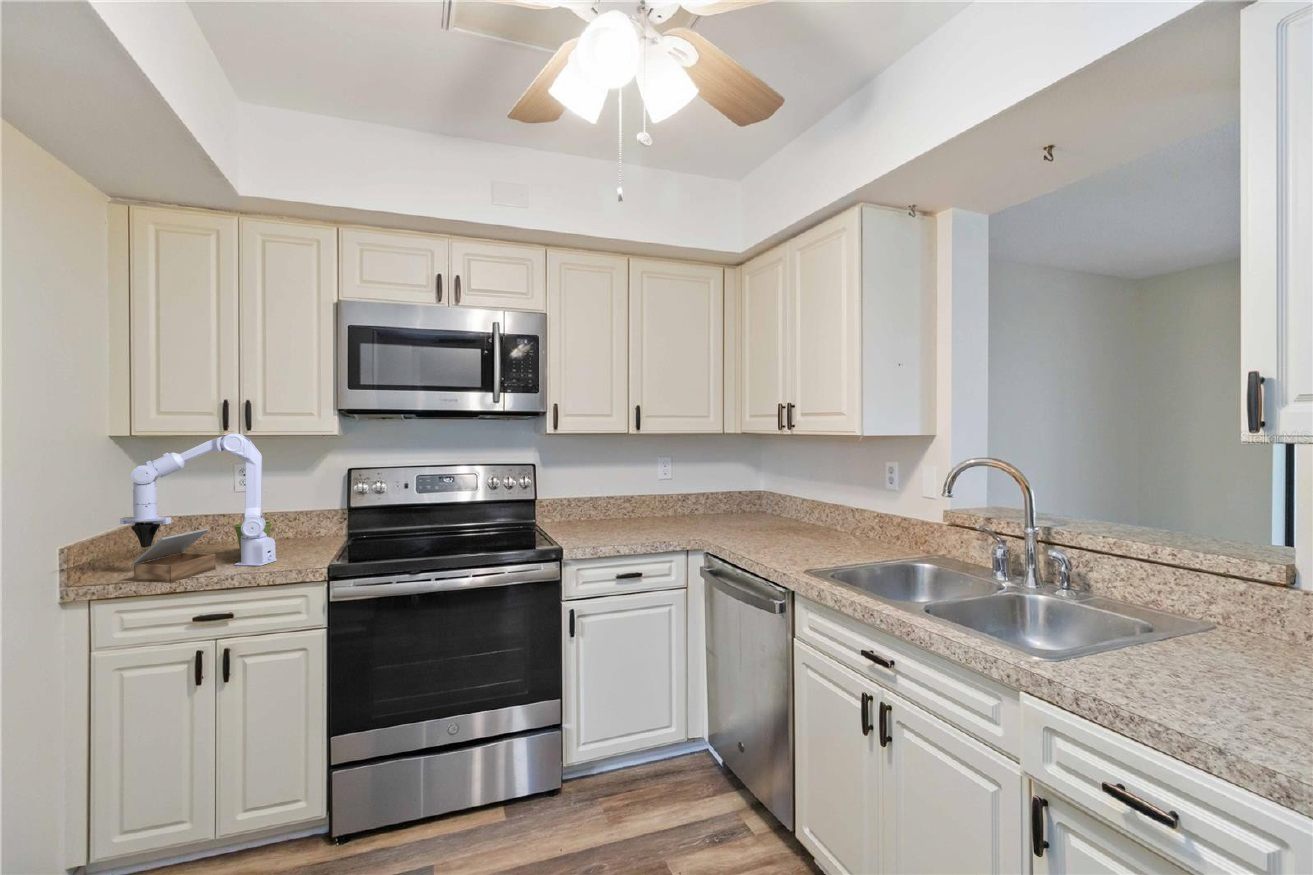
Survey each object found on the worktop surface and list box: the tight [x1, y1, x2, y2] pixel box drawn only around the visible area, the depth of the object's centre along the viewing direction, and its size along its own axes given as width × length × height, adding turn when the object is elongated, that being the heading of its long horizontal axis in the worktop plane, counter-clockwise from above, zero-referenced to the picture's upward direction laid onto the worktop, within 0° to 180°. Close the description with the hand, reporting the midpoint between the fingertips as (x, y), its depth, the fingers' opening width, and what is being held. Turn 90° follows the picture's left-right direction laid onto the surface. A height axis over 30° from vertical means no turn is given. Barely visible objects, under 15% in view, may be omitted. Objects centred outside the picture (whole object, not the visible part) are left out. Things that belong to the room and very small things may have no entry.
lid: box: [132, 528, 210, 565], centre depth 186 cm, size 12×16×1 cm
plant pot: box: [232, 520, 273, 554], centre depth 215 cm, size 12×12×11 cm
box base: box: [133, 552, 217, 583], centre depth 186 cm, size 12×16×5 cm
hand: (146, 546), depth 188 cm, fingers closed
